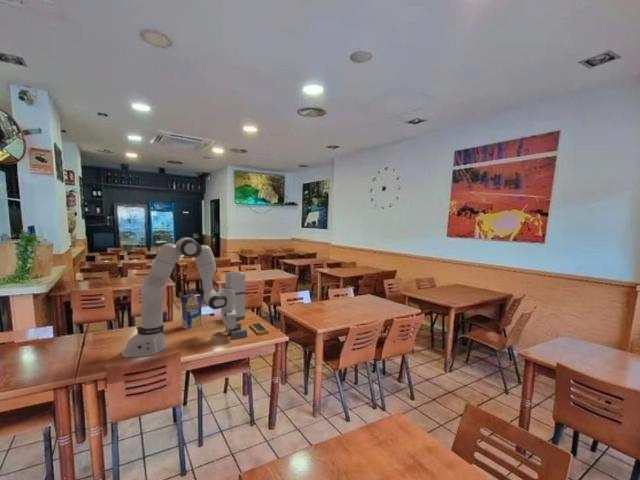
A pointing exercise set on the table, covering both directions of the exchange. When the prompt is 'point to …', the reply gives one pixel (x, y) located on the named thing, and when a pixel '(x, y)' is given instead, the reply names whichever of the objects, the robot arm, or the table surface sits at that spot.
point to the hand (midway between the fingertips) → (228, 331)
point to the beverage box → (191, 311)
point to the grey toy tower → (237, 291)
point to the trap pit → (258, 328)
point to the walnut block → (233, 330)
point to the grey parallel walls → (238, 332)
